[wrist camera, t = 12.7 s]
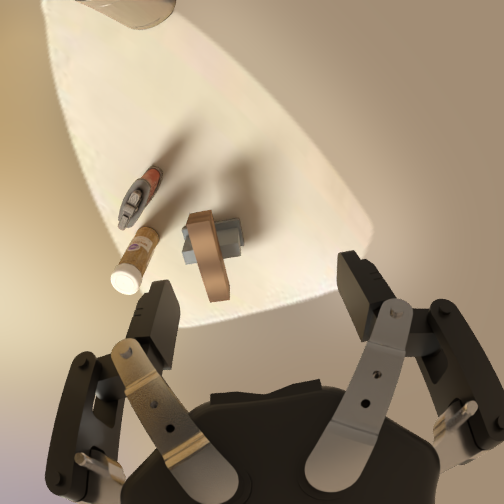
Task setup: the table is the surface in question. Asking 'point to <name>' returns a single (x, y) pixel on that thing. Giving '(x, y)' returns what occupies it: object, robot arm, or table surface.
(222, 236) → the fulcrum
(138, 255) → the sprinkles bottle
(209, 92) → the table surface
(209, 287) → the walnut bar
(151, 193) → the lighter
